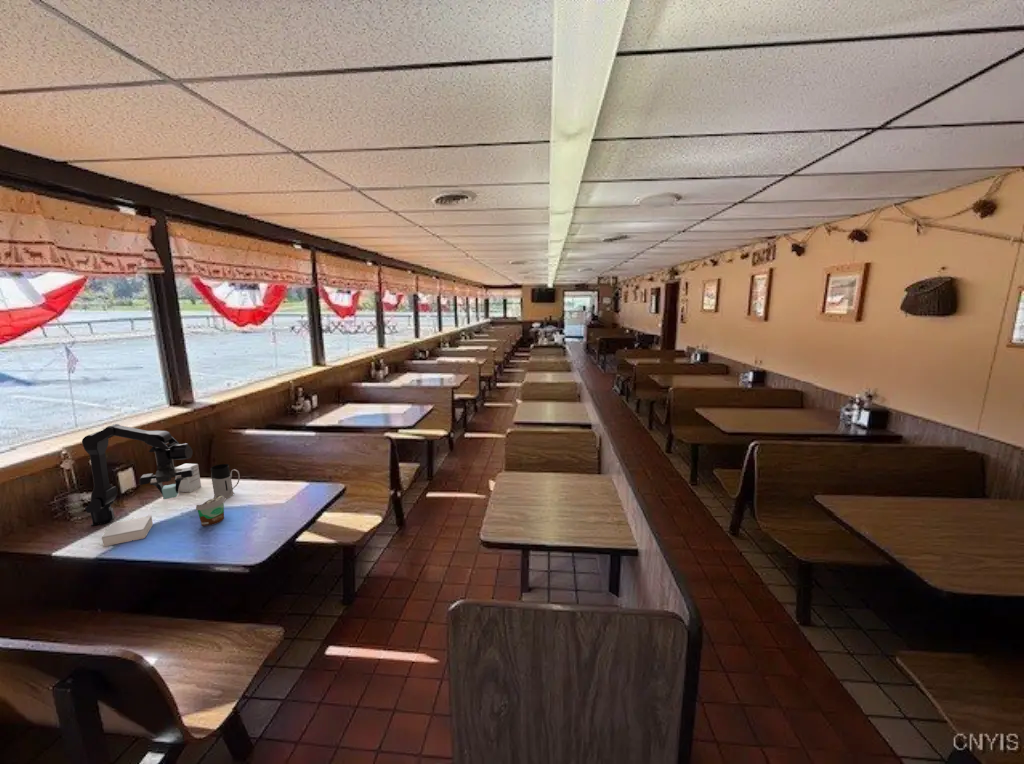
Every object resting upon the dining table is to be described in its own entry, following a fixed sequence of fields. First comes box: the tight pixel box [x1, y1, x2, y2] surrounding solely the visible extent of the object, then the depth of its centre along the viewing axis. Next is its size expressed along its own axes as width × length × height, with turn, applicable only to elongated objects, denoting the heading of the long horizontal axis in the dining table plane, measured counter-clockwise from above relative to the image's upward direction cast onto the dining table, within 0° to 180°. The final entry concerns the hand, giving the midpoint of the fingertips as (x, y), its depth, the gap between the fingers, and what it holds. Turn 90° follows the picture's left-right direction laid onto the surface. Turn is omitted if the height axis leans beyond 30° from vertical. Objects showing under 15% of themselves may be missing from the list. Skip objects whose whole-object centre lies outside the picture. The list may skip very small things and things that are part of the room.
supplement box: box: [174, 463, 202, 493], centre depth 231 cm, size 7×7×13 cm
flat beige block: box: [101, 515, 154, 547], centre depth 187 cm, size 13×13×4 cm
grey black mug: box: [210, 463, 241, 499], centre depth 221 cm, size 9×14×15 cm, turn 82°
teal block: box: [161, 483, 179, 500], centre depth 201 cm, size 5×5×5 cm
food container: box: [195, 494, 226, 527], centre depth 196 cm, size 12×6×10 cm, turn 168°
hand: (170, 494), depth 201 cm, fingers closed on teal block, 5 cm apart
